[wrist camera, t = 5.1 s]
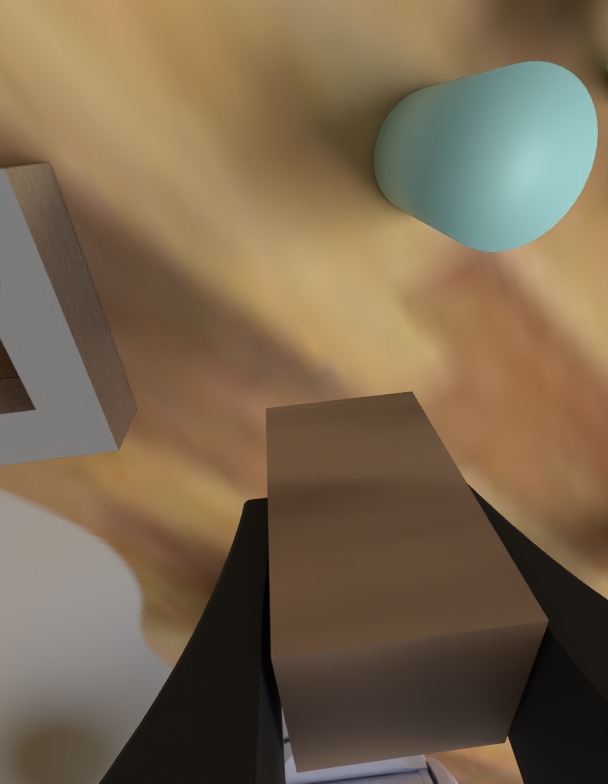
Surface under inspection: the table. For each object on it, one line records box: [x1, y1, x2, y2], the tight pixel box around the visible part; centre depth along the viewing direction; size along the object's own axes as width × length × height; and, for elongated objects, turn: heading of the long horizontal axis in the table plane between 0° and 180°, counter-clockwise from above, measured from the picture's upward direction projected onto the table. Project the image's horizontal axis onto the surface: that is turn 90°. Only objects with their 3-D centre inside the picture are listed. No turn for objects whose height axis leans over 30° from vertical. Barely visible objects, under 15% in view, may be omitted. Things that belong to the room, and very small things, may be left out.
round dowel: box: [373, 61, 598, 252], centre depth 13 cm, size 4×4×6 cm
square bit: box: [266, 392, 549, 773], centre depth 10 cm, size 4×4×6 cm
